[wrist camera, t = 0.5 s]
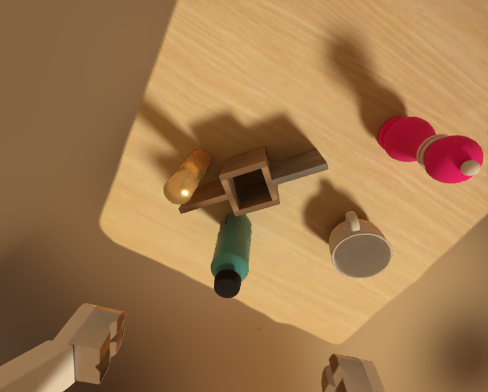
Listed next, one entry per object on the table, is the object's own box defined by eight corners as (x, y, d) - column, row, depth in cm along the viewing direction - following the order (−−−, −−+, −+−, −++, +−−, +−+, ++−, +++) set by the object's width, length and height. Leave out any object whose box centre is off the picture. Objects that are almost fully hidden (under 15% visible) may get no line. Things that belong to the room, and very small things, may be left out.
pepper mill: (379, 112, 47) (453, 137, 29) (422, 113, 47) (524, 139, 29) (370, 153, 50) (432, 198, 32) (410, 154, 50) (496, 201, 32)
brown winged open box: (183, 173, 54) (169, 191, 46) (312, 130, 49) (321, 142, 41) (199, 207, 57) (189, 230, 49) (322, 170, 52) (333, 188, 44)
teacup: (374, 253, 59) (390, 278, 52) (324, 257, 60) (332, 282, 53) (378, 195, 54) (397, 214, 46) (322, 201, 55) (332, 220, 48)
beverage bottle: (228, 203, 56) (211, 265, 38) (257, 214, 57) (255, 280, 39) (217, 228, 59) (197, 297, 41) (246, 238, 60) (238, 311, 41)
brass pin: (195, 145, 52) (168, 173, 37) (214, 154, 52) (195, 185, 38) (187, 163, 53) (159, 197, 39) (206, 172, 54) (185, 208, 39)
